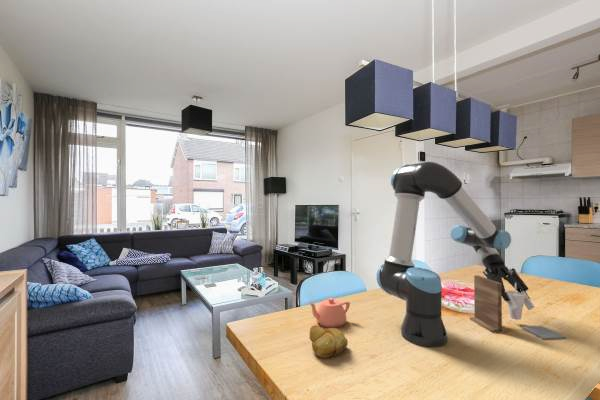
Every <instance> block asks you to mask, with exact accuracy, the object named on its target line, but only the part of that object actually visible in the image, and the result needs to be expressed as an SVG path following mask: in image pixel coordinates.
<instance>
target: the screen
mask: <svg viewBox="0 0 600 400" xmlns="http://www.w3.org/2000/svg"><path fill="white" fill-rule="evenodd" d="M473 281H474V282H473V283H474V285H473V286H474V287H473V288H474V298H473V299H474V300H473V301H474V304H473V305H474V316H470V317H469V321H472V322H473V323H474V324H477V325H478V326H480V327H482V328H484V329H486V330H487V331H489V332H490V333H492V334H494V332H496V333H508V328H505V327H504V326H503V317H502V316H503V315H502V314H503V311H502V310H503V301H502V300H503V297H502V284H501V283H498V282H496V281H493V280H490V279H487V277H483V276H481V275H479V274H478V275H474V276H473Z"/></svg>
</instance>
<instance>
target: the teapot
mask: <svg viewBox="0 0 600 400" xmlns="http://www.w3.org/2000/svg"><path fill="white" fill-rule="evenodd" d="M307 303H308V304H309V305H310V306H311V312H312V315H313V317H314V318H315V319H316V321H317V322H318V324H319V323H320V324H319V325H321V326H322V325H323V327H324V326H325V328H329V327H331V328H332V327H335V328H340V327H343V326H344V325H345V324H346V322H347V312H348V310H349V309H350V306H351V302H350V301H348V300H346V301H342V302H340V300H337V299H335V298H332V297H329V298H327V299H324V300H322V301H321V302H320V304H319V305H318V308H317V309H316V306H315V303H314V302H309V301H308V302H307ZM343 305H345V308H344V306H343Z"/></svg>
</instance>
